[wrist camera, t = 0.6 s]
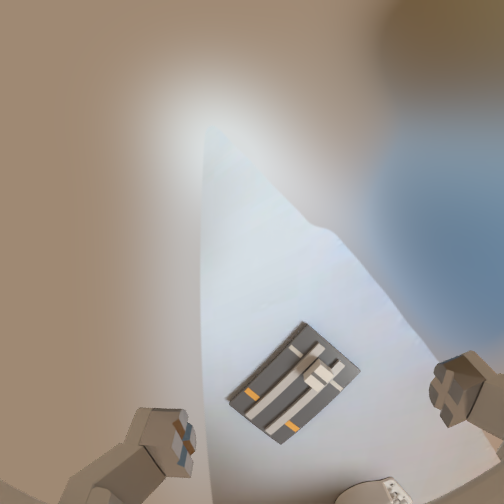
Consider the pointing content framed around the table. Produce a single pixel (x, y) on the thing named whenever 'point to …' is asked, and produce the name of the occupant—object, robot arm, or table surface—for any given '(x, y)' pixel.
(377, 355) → the table surface
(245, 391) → the slider console
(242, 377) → the table surface
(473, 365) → the robot arm
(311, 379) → the fader knob
